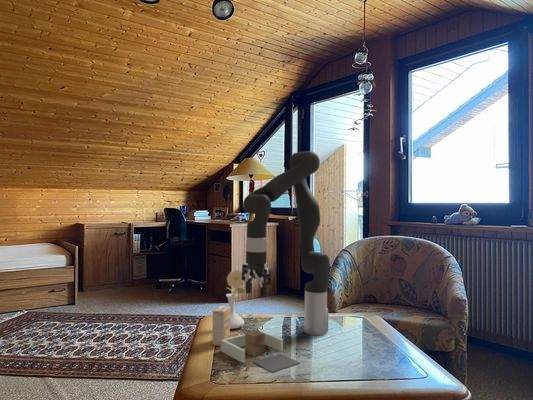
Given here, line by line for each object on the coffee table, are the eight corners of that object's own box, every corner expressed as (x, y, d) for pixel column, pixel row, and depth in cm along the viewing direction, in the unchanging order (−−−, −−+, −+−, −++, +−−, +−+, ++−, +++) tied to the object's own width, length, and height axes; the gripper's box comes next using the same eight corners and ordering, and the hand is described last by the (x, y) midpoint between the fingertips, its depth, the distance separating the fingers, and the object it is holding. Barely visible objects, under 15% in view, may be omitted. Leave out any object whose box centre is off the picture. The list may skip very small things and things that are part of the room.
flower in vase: (212, 327, 171) (213, 269, 171) (229, 321, 180) (230, 266, 181) (236, 333, 163) (236, 272, 164) (252, 326, 173) (253, 269, 173)
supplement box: (224, 346, 148) (224, 311, 149) (211, 345, 149) (212, 310, 150) (230, 339, 157) (230, 305, 157) (218, 338, 158) (219, 305, 158)
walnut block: (256, 349, 147) (256, 329, 147) (264, 353, 143) (264, 333, 143) (245, 352, 143) (245, 332, 143) (253, 356, 140) (253, 336, 140)
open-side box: (260, 340, 155) (260, 330, 155) (283, 350, 145) (283, 339, 145) (220, 351, 144) (220, 339, 144) (242, 362, 133) (242, 350, 134)
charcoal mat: (280, 354, 141) (280, 353, 141) (299, 363, 134) (299, 362, 134) (253, 362, 134) (253, 361, 134) (272, 372, 126) (272, 371, 126)
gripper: (277, 251, 140) (276, 297, 140) (252, 247, 151) (252, 290, 151) (260, 252, 136) (259, 300, 135) (236, 248, 147) (235, 293, 146)
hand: (255, 295), depth 143 cm, fingers open, 8 cm apart
